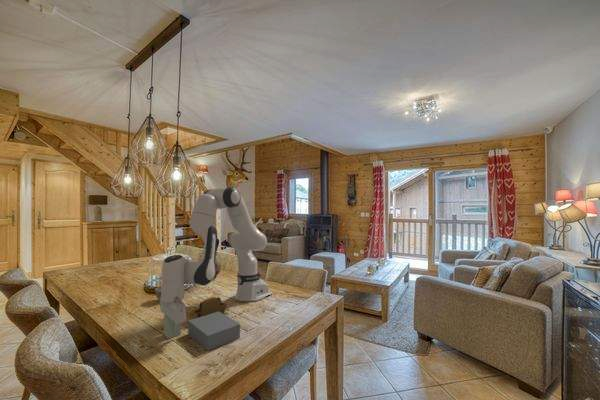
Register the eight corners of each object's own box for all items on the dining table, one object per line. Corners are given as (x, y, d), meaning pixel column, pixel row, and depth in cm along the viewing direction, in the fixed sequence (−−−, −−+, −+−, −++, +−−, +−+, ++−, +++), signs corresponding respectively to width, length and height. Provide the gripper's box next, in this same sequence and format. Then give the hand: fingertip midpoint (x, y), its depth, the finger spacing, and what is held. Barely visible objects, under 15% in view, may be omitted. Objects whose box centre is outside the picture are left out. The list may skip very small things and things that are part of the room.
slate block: (218, 324, 122) (218, 311, 122) (239, 338, 109) (240, 324, 109) (188, 334, 112) (188, 320, 112) (207, 351, 99) (207, 335, 99)
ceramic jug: (203, 282, 185) (204, 239, 185) (195, 277, 196) (196, 237, 197) (226, 278, 196) (226, 237, 197) (217, 274, 208) (217, 235, 208)
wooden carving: (222, 311, 135) (222, 292, 135) (227, 314, 132) (228, 294, 133) (191, 322, 123) (192, 301, 123) (197, 325, 120) (197, 303, 120)
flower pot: (167, 296, 157) (167, 284, 157) (178, 299, 152) (178, 287, 152) (151, 301, 149) (151, 288, 149) (161, 305, 143) (161, 291, 144)
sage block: (176, 330, 115) (176, 312, 115) (180, 334, 111) (180, 315, 111) (163, 334, 111) (164, 315, 111) (168, 338, 108) (168, 319, 108)
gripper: (190, 299, 106) (189, 333, 106) (172, 287, 121) (171, 317, 121) (174, 303, 102) (173, 339, 102) (157, 290, 116) (156, 322, 116)
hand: (172, 327), depth 111 cm, fingers open, 8 cm apart
